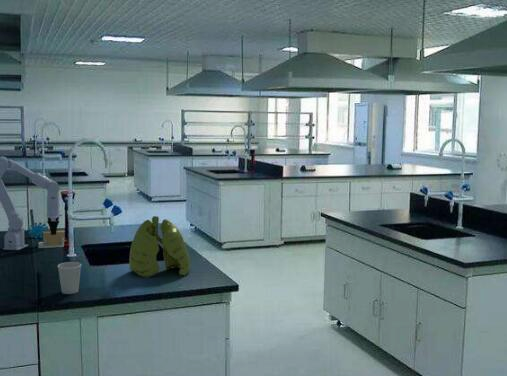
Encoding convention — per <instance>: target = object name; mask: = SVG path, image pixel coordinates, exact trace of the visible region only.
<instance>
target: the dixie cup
mask: <svg viewBox="0 0 507 376" xmlns="http://www.w3.org/2000/svg"><path fill="white" fill-rule="evenodd" d="M57 268H58V269H57V270H58V276H59V282H60V288H61V293H62V294H63V295H65V294H66V295H72V294H76V293H79V288H80V287H79V286H80V280H81V279H80V278H81V269H82V263H81V262H78V261H77V262H76V261H68V262H67V261H66V262H62V263H59V264H58V265H57Z"/></svg>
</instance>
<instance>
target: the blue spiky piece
mask: <svg viewBox="0 0 507 376" xmlns="http://www.w3.org/2000/svg"><path fill="white" fill-rule="evenodd" d="M29 226H30V227H28V228H27V229H28V230H27V231H28V232H27V233H28V235H30V237H31V238H34V239H35V240H38V238H39V239H43V231H50V229H49V225H48V226H47V224H46V223H45V222H44V223H43V222H38V223H37V222H34V225H33V224H30V225H29Z"/></svg>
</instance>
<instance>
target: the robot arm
mask: <svg viewBox="0 0 507 376" xmlns="http://www.w3.org/2000/svg"><path fill="white" fill-rule="evenodd" d="M7 170H8V171H15V172H18V173H19V174H21V175H23V176H24V177H27V178H29V179H31V183H32V184H34V185H36V186H37V187H39V188H41V189H43V190H46V191H47V193H46V217H47V218H46V219H47V221H46V223H47V224H48V228H49V230H50V232H51V235H56V232H57V231H58V226H59V224H60V220H59V219H60V217H63V214H62V213H60V190H61V189H60V185H59V183H58V182H56V180H53V178H49V177H48V176H46V175H45V174H44V172H34V171H32V170H30V169H28V168H27V167H26V166H23V165H22V164H20V163H19V162H17V161H15V160H13V159H10V158H8V157H6V156H2V155H1V156H0V204H1V206H2V208H3V210H4V212H5V214H6V218H7V219H8V220H7V221H8V227H7V232H6V233H5V234H4V237H3V239H4V241H3V242H4V245H3V246H4V247H3V248H2V250H5V251H7V250H8V251H20V250H22V249H24V248H26V247H28V246H29V244H25V227H24V226H23V225H24V222H23V221H24V219H23V217H22V216H21V214H19V212H18V210H17V209H16V207H15V205H14V203H13V200H12V199H11V197H10V195H9V192H8V190H7V188H6V186H5V184H4V182H3V181H4V180H2V177H3V175H4V174H5V172H6V171H7Z"/></svg>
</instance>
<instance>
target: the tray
mask: <svg viewBox="0 0 507 376" xmlns="http://www.w3.org/2000/svg"><path fill="white" fill-rule="evenodd" d="M49 248H51V249H52V248H65V247H64V244H63V238H61V244H54V245H47V239H44V245H43V241H39V242H38V248H37V249H49Z"/></svg>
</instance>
